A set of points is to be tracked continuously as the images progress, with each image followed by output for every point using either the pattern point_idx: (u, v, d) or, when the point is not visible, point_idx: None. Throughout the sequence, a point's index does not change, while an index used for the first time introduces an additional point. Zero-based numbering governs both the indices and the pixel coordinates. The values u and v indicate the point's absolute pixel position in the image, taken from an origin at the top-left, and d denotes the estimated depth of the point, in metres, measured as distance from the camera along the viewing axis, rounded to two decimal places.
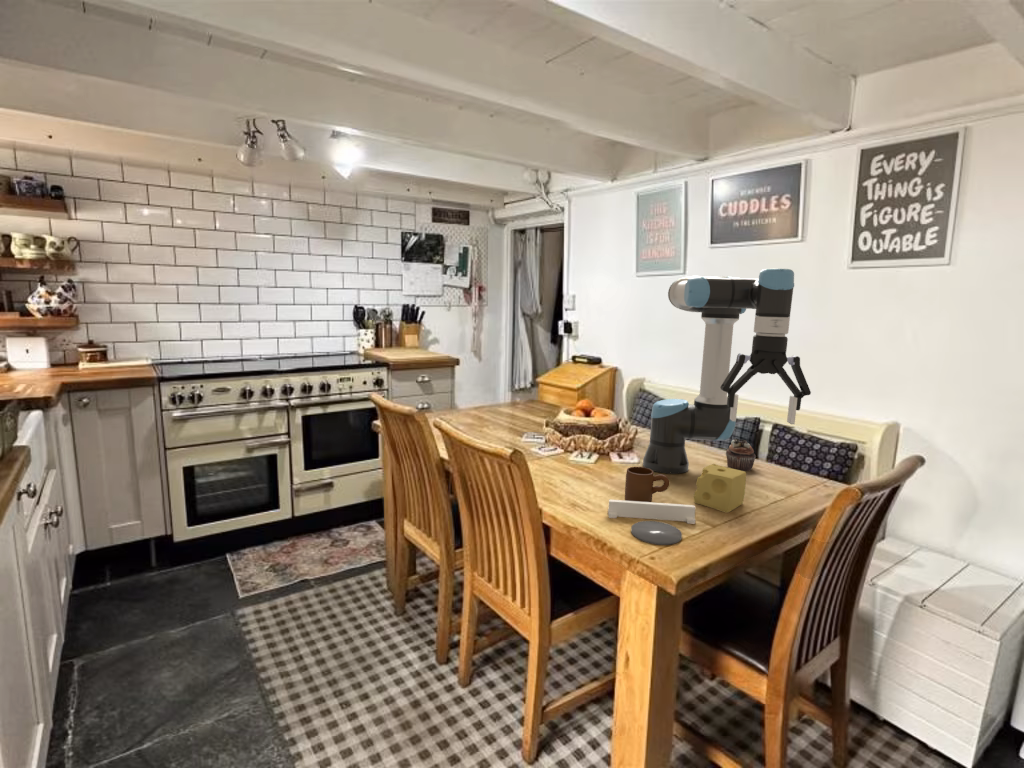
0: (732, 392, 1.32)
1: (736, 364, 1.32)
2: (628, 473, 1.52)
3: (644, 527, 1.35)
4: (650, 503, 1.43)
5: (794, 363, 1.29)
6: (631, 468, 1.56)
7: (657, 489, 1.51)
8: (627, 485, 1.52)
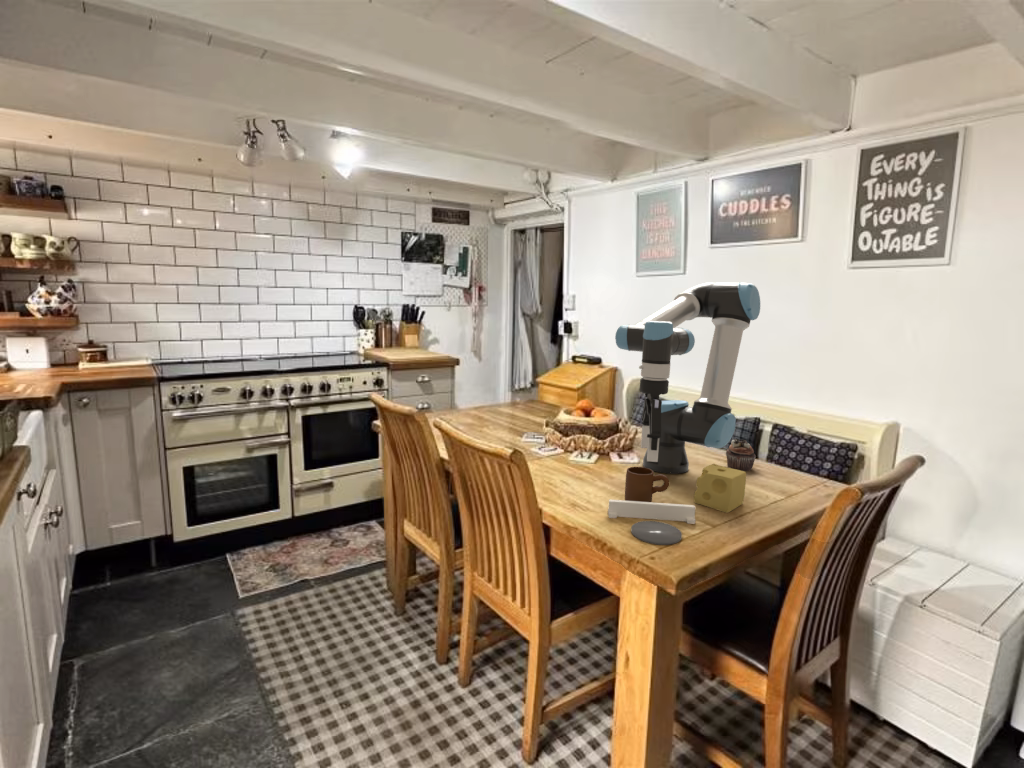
0: (642, 422, 1.58)
1: None
2: (628, 473, 1.52)
3: (644, 527, 1.35)
4: (650, 503, 1.43)
5: (651, 405, 1.43)
6: (631, 468, 1.56)
7: (657, 489, 1.51)
8: (627, 485, 1.52)
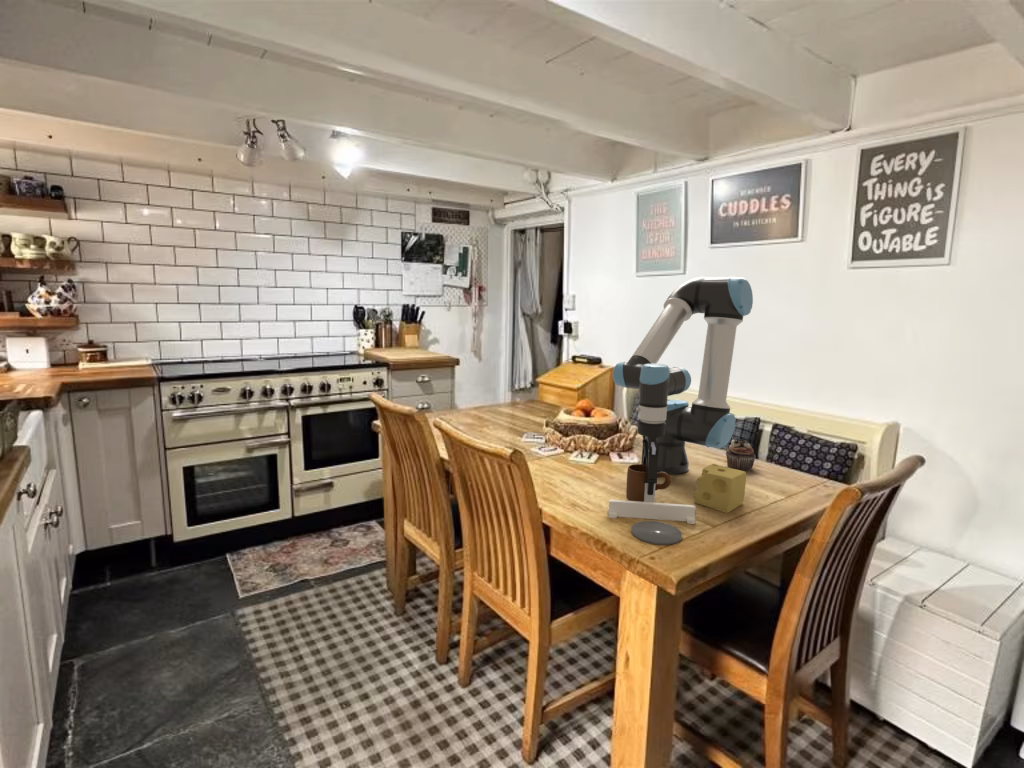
0: None
1: None
2: (629, 471, 1.51)
3: (644, 527, 1.35)
4: (650, 503, 1.43)
5: (648, 451, 1.46)
6: (632, 466, 1.55)
7: (658, 487, 1.50)
8: (628, 483, 1.52)
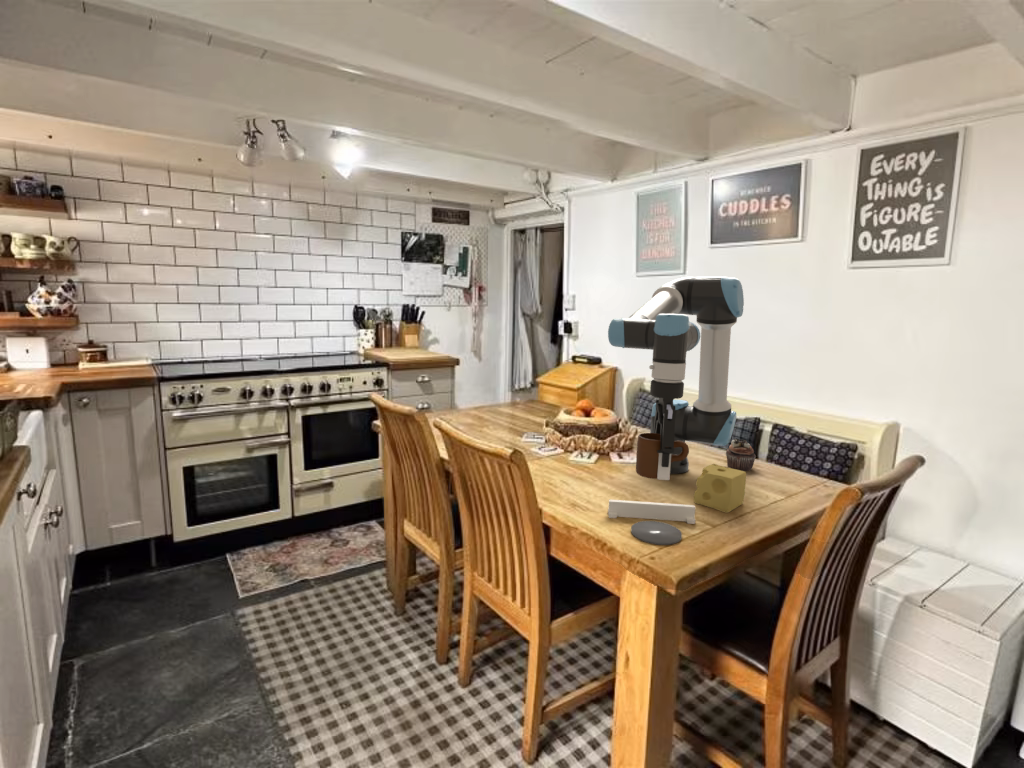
0: None
1: None
2: (640, 439, 1.29)
3: (644, 527, 1.35)
4: (650, 503, 1.43)
5: (663, 415, 1.24)
6: (643, 434, 1.33)
7: (674, 458, 1.28)
8: (639, 453, 1.30)
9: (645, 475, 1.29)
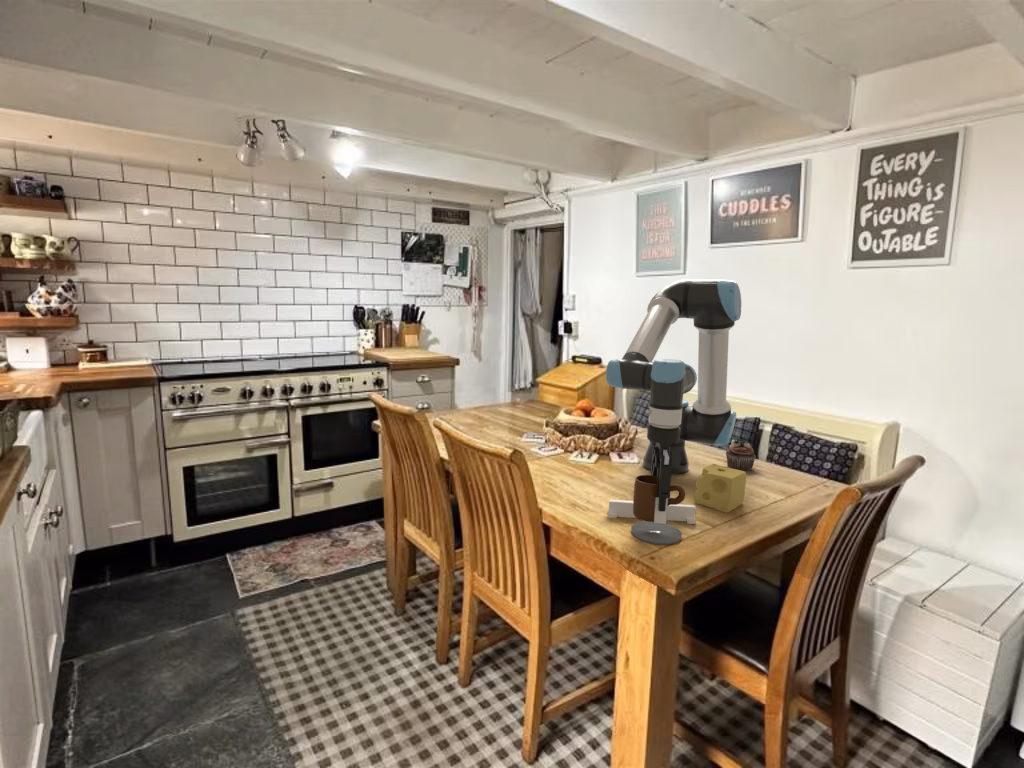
0: None
1: None
2: (637, 482, 1.31)
3: (644, 527, 1.35)
4: None
5: (660, 460, 1.25)
6: (640, 477, 1.35)
7: (670, 502, 1.30)
8: (636, 496, 1.31)
9: (642, 518, 1.30)
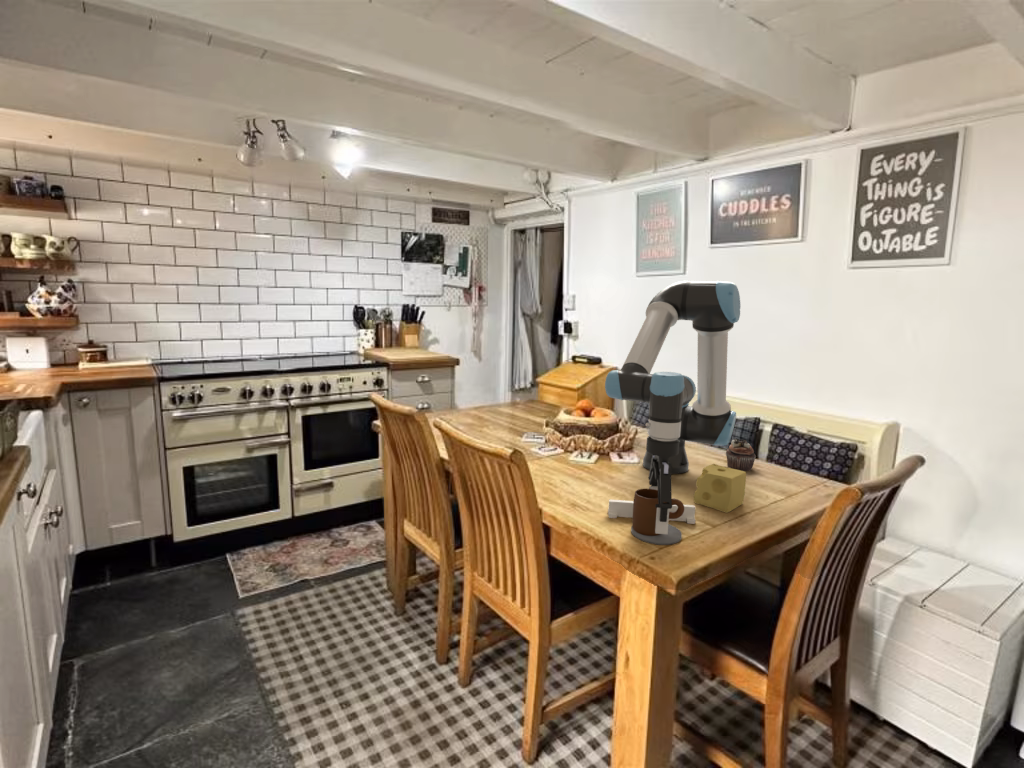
0: (649, 482, 1.40)
1: None
2: (636, 497, 1.32)
3: None
4: None
5: (659, 470, 1.25)
6: (640, 490, 1.35)
7: (669, 516, 1.30)
8: (635, 510, 1.32)
9: (641, 532, 1.31)
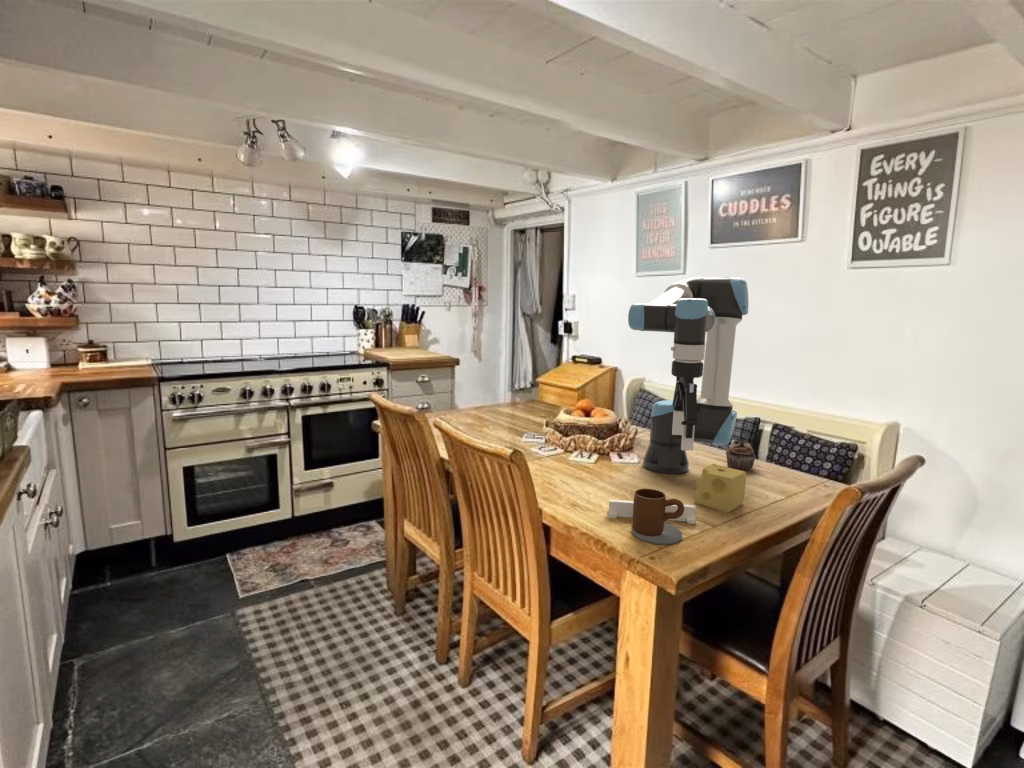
0: (673, 408, 1.47)
1: None
2: (636, 497, 1.32)
3: None
4: None
5: (685, 390, 1.33)
6: (640, 490, 1.35)
7: (669, 516, 1.30)
8: (635, 510, 1.32)
9: (641, 532, 1.31)
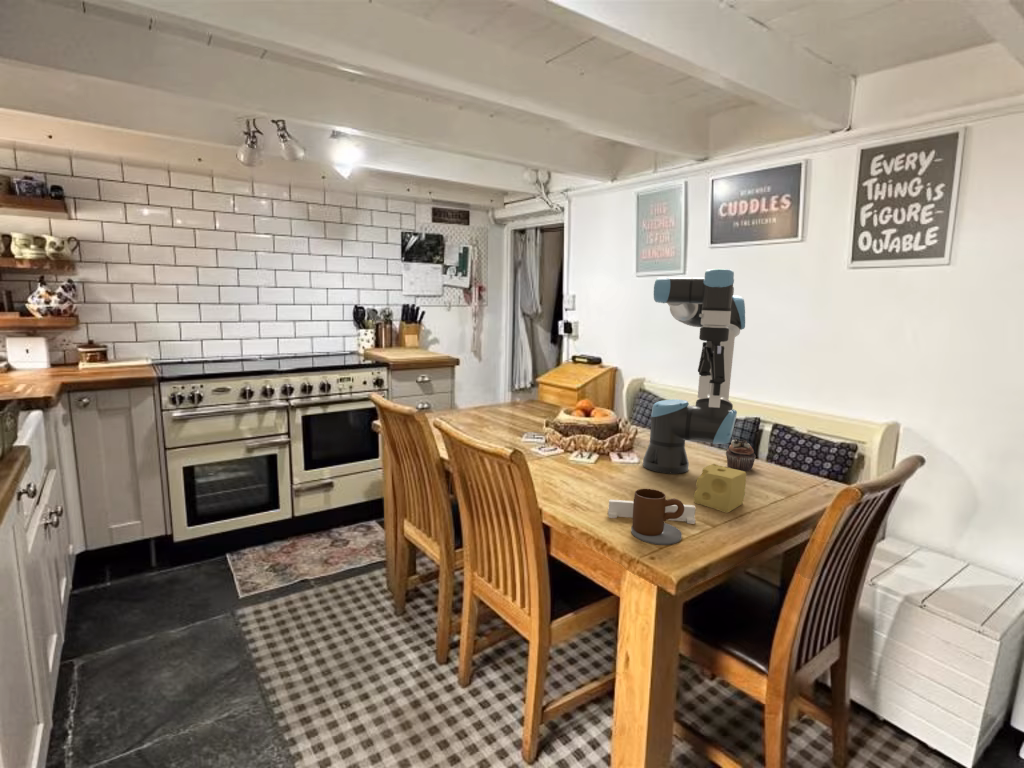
0: (699, 373, 1.60)
1: None
2: (636, 497, 1.32)
3: None
4: None
5: (713, 351, 1.45)
6: (640, 490, 1.35)
7: (669, 516, 1.30)
8: (635, 510, 1.32)
9: (641, 532, 1.31)
